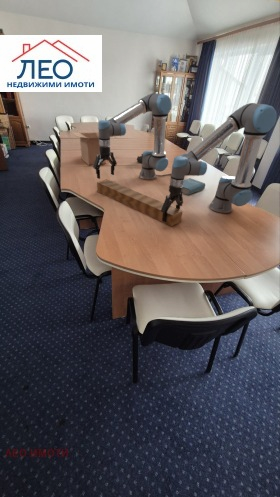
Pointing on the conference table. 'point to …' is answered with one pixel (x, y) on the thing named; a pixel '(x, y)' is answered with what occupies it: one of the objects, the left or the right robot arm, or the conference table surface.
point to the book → (192, 186)
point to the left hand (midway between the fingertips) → (105, 176)
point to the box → (89, 145)
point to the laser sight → (139, 158)
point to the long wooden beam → (139, 201)
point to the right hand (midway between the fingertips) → (170, 218)
